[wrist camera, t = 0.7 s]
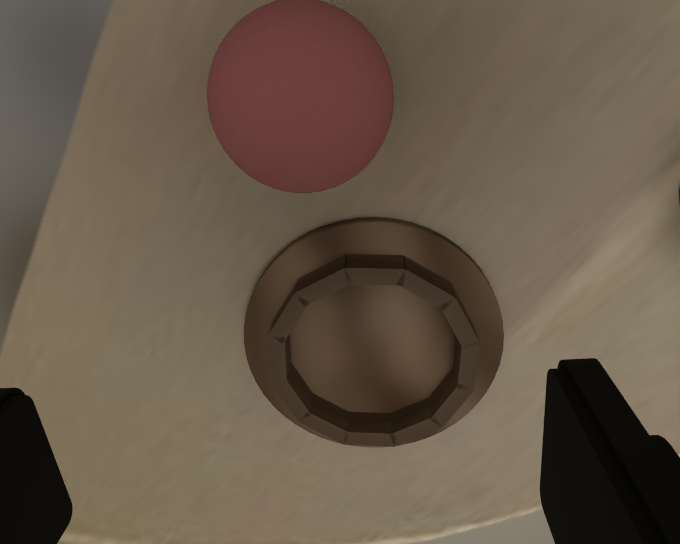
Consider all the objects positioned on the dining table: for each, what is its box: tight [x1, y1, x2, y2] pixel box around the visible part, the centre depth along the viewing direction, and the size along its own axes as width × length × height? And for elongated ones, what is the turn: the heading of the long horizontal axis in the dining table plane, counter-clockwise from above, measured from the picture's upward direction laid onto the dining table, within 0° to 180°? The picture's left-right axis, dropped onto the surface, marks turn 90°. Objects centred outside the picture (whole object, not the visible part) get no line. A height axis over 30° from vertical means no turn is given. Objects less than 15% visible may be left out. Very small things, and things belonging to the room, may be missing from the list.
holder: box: [244, 218, 504, 447], centre depth 34 cm, size 16×16×3 cm
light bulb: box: [207, 0, 393, 193], centre depth 24 cm, size 7×7×12 cm
